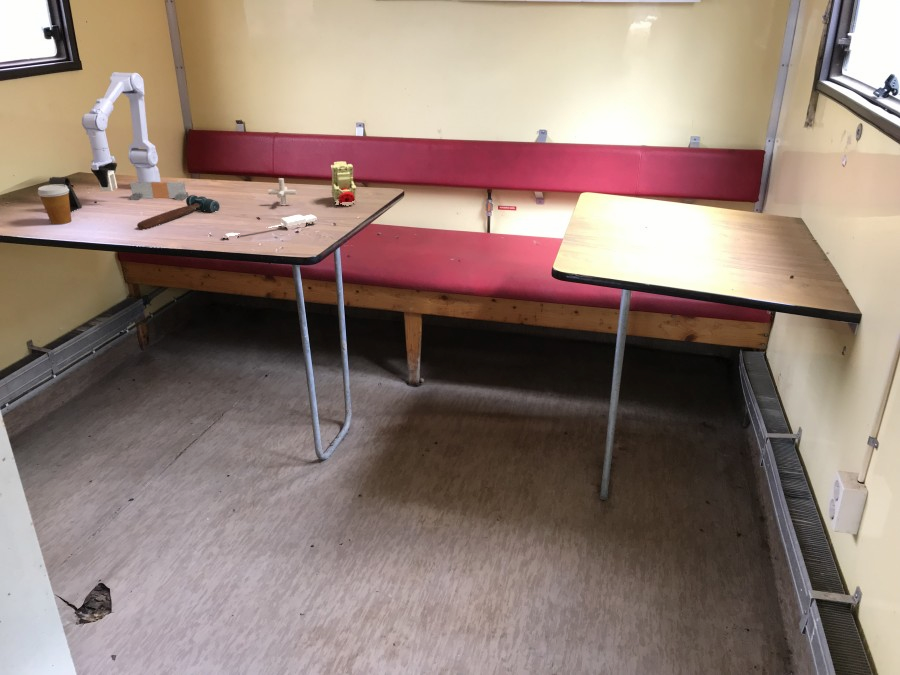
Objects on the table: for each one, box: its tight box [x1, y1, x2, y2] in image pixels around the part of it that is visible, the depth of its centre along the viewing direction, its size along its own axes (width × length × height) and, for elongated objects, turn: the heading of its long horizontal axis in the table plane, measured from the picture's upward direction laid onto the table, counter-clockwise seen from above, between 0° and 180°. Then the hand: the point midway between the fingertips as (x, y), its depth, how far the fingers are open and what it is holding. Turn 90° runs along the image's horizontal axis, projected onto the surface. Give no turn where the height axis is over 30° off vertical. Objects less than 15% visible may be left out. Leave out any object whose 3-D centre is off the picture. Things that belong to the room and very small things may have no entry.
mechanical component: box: [330, 160, 357, 203], centre depth 256 cm, size 8×17×20 cm, turn 19°
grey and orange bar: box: [129, 181, 189, 201], centre depth 263 cm, size 6×20×6 cm, turn 90°
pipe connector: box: [267, 177, 297, 205], centre depth 253 cm, size 10×10×10 cm
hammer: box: [136, 194, 221, 230], centre depth 239 cm, size 14×5×30 cm
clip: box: [98, 171, 118, 192], centre depth 253 cm, size 5×4×6 cm
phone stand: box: [48, 176, 83, 213], centre depth 245 cm, size 9×6×12 cm, turn 170°
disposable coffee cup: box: [37, 184, 72, 225], centre depth 233 cm, size 10×10×12 cm
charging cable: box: [224, 214, 318, 237], centre depth 227 cm, size 5×32×3 cm, turn 125°
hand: (108, 185), depth 254 cm, fingers closed on clip, 5 cm apart
